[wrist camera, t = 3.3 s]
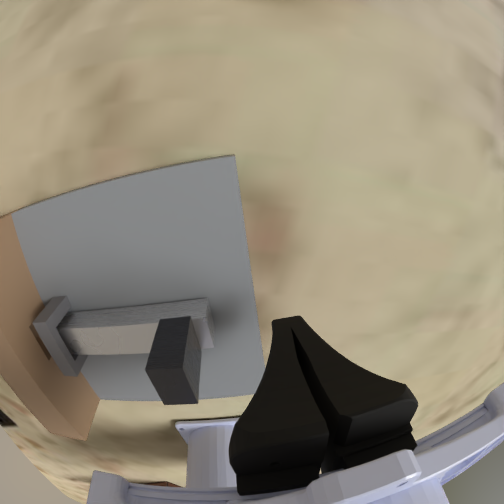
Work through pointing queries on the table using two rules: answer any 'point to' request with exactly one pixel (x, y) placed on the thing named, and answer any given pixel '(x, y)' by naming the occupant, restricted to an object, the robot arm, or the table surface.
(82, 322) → the bolt
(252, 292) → the door and jamb
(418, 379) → the table surface
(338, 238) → the table surface
